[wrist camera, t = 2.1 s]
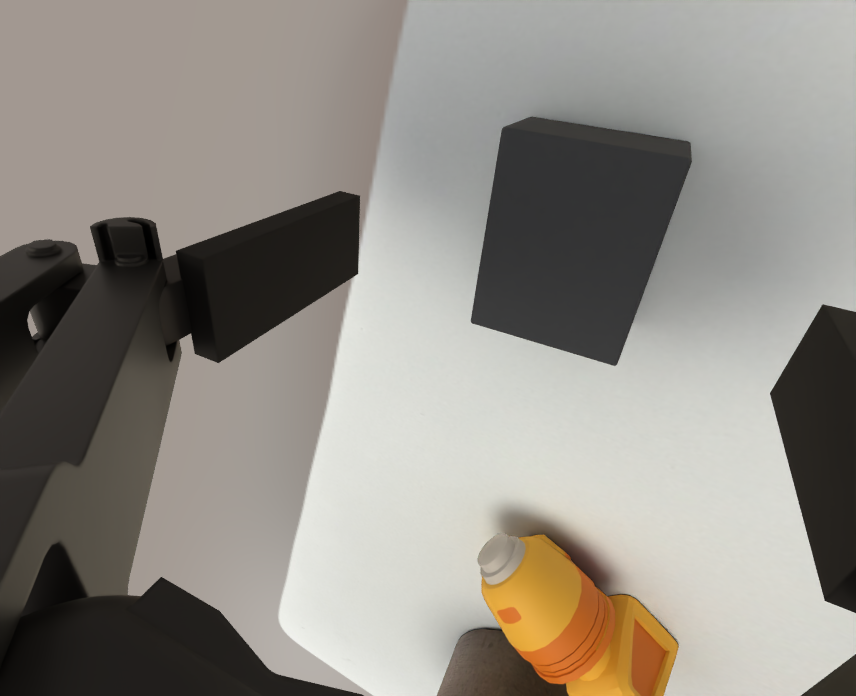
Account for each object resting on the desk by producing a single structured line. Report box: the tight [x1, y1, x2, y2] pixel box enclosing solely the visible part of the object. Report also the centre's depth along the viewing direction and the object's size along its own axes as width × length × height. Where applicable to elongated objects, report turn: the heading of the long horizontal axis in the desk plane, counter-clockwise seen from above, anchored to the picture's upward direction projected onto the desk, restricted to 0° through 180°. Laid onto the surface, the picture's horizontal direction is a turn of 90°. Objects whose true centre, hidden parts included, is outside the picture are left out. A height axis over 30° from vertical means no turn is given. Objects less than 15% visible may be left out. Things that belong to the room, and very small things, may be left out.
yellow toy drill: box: [478, 533, 679, 696], centre depth 26 cm, size 5×6×12 cm
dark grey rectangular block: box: [471, 117, 692, 366], centre depth 18 cm, size 7×6×4 cm
